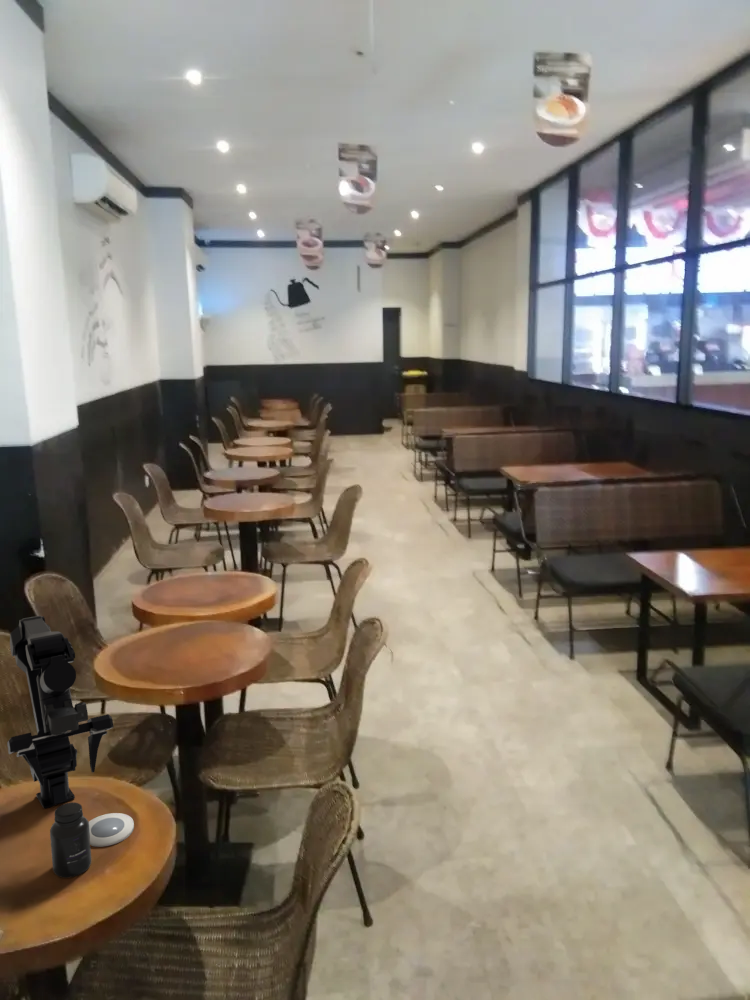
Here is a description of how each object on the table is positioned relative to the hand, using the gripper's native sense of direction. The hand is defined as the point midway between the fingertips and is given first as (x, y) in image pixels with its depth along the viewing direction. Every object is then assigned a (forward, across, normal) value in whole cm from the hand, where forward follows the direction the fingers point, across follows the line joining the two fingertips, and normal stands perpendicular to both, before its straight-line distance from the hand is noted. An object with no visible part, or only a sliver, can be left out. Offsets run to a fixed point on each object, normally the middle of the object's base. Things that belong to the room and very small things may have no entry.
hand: (68, 779), depth 149 cm
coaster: (+12, +7, +9) cm, 16 cm away
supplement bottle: (+16, -1, +2) cm, 16 cm away
